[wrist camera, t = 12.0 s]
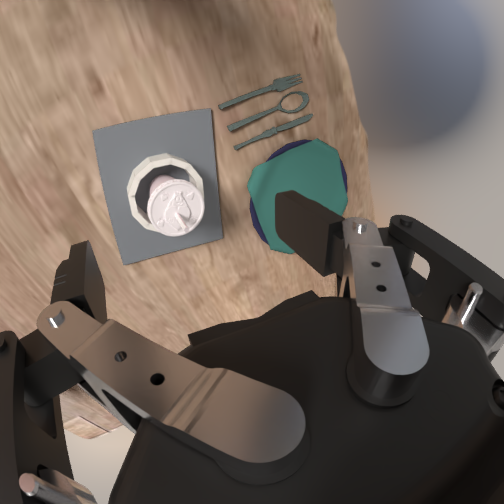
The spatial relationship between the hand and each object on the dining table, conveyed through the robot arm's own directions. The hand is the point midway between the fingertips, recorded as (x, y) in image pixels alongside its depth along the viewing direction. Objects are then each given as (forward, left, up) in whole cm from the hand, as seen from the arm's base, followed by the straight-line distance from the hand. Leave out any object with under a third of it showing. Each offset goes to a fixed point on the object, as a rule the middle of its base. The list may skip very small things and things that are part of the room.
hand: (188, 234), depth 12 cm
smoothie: (+6, +3, -29) cm, 30 cm away
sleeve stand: (+6, +3, -30) cm, 30 cm away
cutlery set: (+8, +24, -30) cm, 39 cm away
